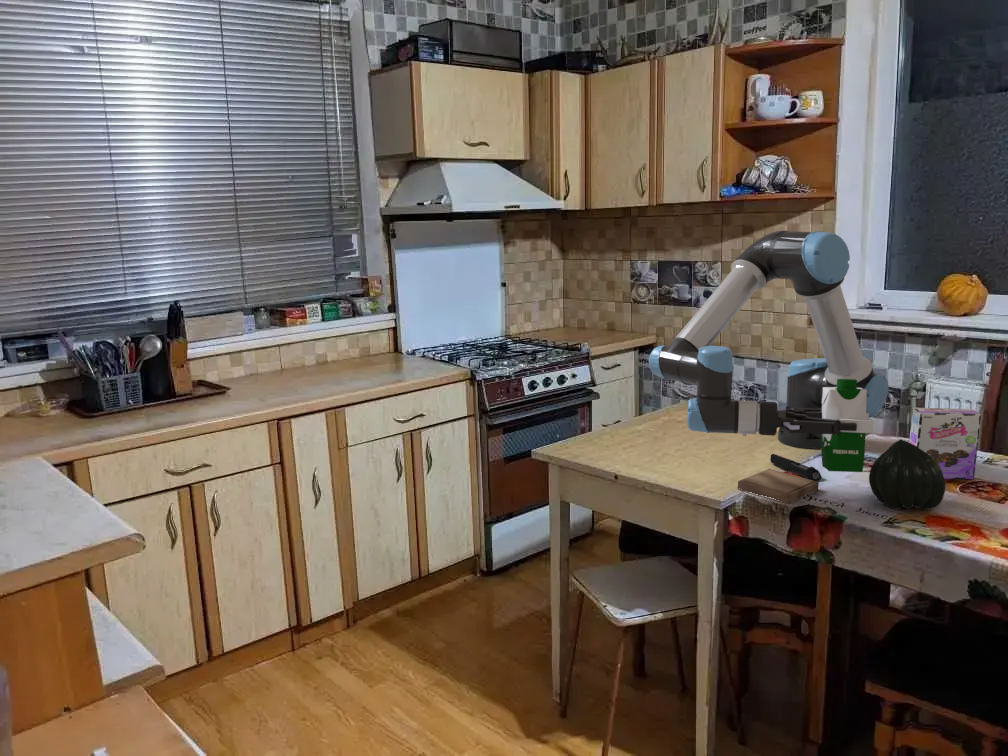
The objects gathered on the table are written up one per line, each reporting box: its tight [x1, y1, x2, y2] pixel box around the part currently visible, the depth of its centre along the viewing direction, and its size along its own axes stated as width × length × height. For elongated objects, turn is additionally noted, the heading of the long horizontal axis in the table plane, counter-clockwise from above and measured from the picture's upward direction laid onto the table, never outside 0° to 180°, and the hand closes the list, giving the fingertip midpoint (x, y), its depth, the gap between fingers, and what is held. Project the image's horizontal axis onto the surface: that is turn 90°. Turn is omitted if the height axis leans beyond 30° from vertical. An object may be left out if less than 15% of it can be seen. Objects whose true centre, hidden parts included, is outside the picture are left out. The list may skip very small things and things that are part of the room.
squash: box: [868, 438, 946, 510], centre depth 183 cm, size 14×15×15 cm
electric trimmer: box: [769, 453, 823, 482], centre depth 206 cm, size 4×16×3 cm, turn 24°
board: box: [737, 468, 820, 505], centre depth 194 cm, size 13×13×2 cm
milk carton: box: [820, 379, 867, 473], centre depth 183 cm, size 9×9×20 cm
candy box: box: [908, 407, 982, 480], centre depth 200 cm, size 14×6×16 cm, turn 82°
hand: (870, 423), depth 180 cm, fingers closed on milk carton, 5 cm apart
